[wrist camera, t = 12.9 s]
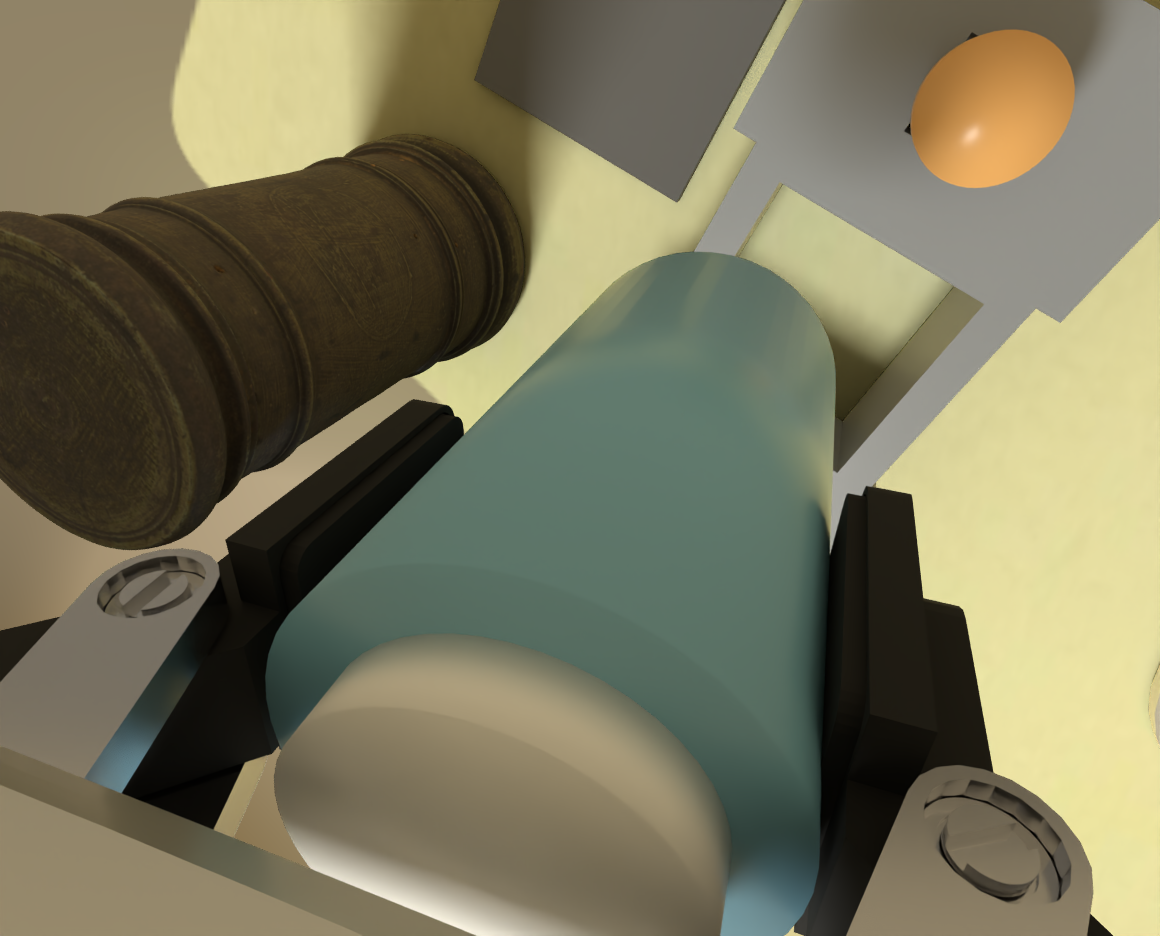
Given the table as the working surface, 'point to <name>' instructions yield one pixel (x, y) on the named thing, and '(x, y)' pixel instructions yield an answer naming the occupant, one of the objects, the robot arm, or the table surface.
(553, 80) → the mat
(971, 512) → the table surface
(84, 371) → the container
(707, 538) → the cartridge
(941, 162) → the plunger
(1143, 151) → the housing
